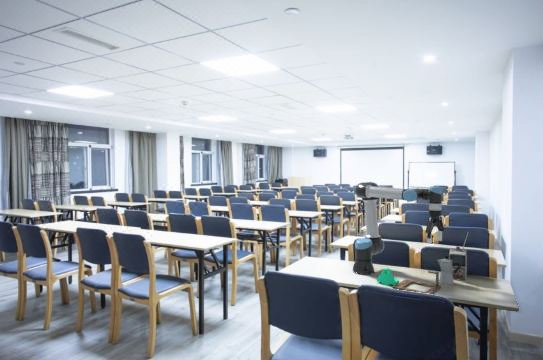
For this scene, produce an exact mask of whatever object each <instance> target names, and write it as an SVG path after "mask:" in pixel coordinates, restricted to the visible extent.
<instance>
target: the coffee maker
mask: <svg viewBox="0 0 543 360" xmlns="http://www.w3.org/2000/svg"><path fill="white" fill-rule="evenodd" d="M436 261H437V262H438V265H439V266H440V267H439V268H440V273H439V283H440V284H443V285H454V283H455V282H454V279H453V275H452V273H451V272H452V270H453V266H457V265H458V268H457V269H456V270H455V272H454V273H455V274H456V272H457V271H458V269H459V268H460V267H461V266H460V264H459V263H458V262H456V261H453V260H450V259H449V254H445V255H444V258H441V259H437V260H436Z"/></svg>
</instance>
